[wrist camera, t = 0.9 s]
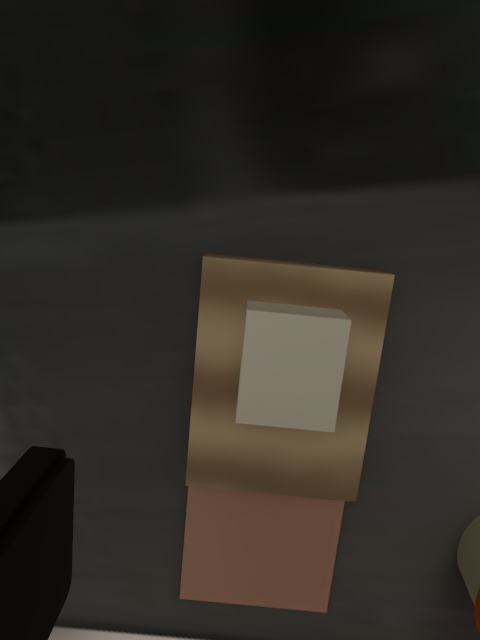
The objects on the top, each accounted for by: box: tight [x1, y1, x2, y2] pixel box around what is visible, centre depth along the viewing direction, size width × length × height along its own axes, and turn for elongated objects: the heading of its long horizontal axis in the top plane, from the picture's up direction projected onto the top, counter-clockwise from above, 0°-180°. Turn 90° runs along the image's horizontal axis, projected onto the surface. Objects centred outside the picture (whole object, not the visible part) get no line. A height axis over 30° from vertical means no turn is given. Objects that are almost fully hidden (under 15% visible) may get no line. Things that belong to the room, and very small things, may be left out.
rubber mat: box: [180, 486, 345, 613], centre depth 36 cm, size 12×12×1 cm
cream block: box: [236, 301, 352, 432], centre depth 28 cm, size 7×6×3 cm
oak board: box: [185, 253, 395, 502], centre depth 32 cm, size 16×12×3 cm
